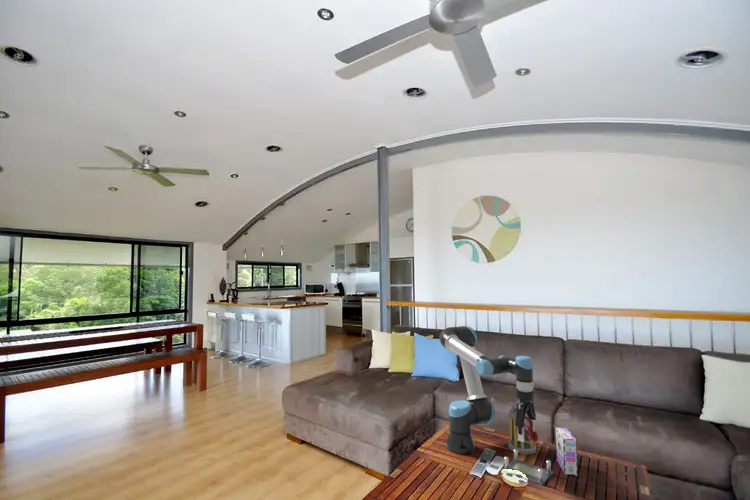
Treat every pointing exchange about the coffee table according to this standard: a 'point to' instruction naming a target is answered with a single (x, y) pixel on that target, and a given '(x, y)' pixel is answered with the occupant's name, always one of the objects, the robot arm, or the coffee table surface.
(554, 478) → the coffee table surface
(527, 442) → the lantern
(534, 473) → the chassis
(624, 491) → the coffee table surface
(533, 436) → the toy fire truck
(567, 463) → the candy box
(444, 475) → the coffee table surface
